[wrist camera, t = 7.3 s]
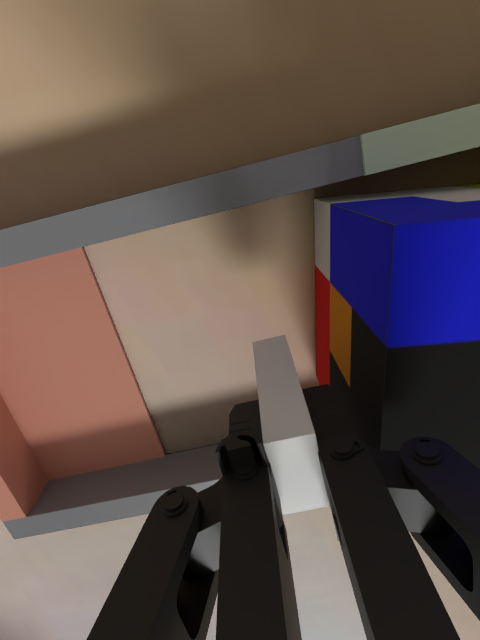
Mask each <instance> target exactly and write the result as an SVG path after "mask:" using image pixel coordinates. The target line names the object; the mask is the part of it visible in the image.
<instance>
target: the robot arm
mask: <svg viewBox="0 0 480 640" xmlns="http://www.w3.org/2000/svg"><path fill="white" fill-rule="evenodd" d="M253 349H254V359H255V369H256V379H257V388H258V398H259V400H255V401H250V402H246V403H241V404H236V405H235V406H234V408H233V409H232V411H231V413H230V416H229V425H230V426H229V436H228V437H226V438H225V439H223V440H222V441H221V442H220V444H219V445H218V446H217V448H216V451H215V454H216V457H217V460H218V463H219V466H220V469H221V472H222V475H223V476H222V478H221V479H220V480H219V481H217V482H216V483H215V484H213V485H212V486H210V487H208V488H206V489H204V490H202V491H200V492H198V493H197V491H196V490H194V489H193V488H192V487H188V486H178V487H174V488H172V489H170V490H168V491H166V492H165V493H164V494H162V495H161V496H160V497H159V498H158V500H157V501H156V502H155V504H154V505H153V507H152V509H151V511H150V513H149V515H148V517H147V519H146V521H145V523H144V525H143V527H142V529H141V531H140V533H139V535H138V537H137V539H136V541H135V543H134V545H133V547H132V549H131V551H130V553H129V555H128V557H127V560H126V562H125V564H124V566H123V568H122V570H121V572H120V574H119V576H118V578H117V580H116V582H115V584H114V586H113V588H112V590H111V592H110V594H109V596H108V598H107V600H106V602H105V604H104V606H103V608H102V610H101V612H100V614H99V616H98V618H97V620H96V622H95V624H94V626H93V628H92V630H91V632H90V634H89V636H88V638H87V640H206V636H207V632H208V628H209V624H210V620H211V616H212V612H213V608H214V604H215V601H216V597H217V593H218V602H217V626H216V640H302V638H301V631H300V624H299V617H298V610H297V603H296V596H295V589H294V582H293V575H292V568H291V561H290V554H289V547H288V540H287V533H286V529H285V525H284V522H283V517H282V513H283V515H284V514H289V513H295V512H300V511H306V510H311V509H316V508H321V507H326V506H330V507H331V510H332V515H333V519H334V524H335V529H336V533H337V538H338V541H340V545H341V548H342V552H343V556H344V559H345V563H346V566H347V570H348V573H349V577H350V580H351V584H352V588H353V591H354V595H355V598H356V602H357V605H358V609H359V612H360V616H361V620H362V623H363V627H364V630H365V634H366V637H367V640H460V638H459V636H458V634H457V632H456V630H455V628H454V625H453V623H452V621H451V619H450V617H449V615H448V613H447V611H446V609H445V607H444V605H443V603H442V601H441V598H440V596H439V594H438V592H437V590H436V588H435V586H434V584H433V582H432V580H431V578H430V576H429V573H428V571H427V569H426V567H425V565H424V563H423V561H422V559H421V557H420V555H419V553H418V551H417V548H416V546H415V544H414V542H413V540H412V538H411V536H410V534H409V532H410V533H411V534H412V536H413V537H414V539H415V540H416V541H417V542H418V544H419V545H420V546H421V548H422V549H423V550H424V551H425V553H426V554H427V555H428V556H429V558H430V559H431V560H432V561H433V563H434V564H435V565H436V566H437V568H438V569H439V570H440V571H441V573H442V574H443V575H444V576H445V578H446V579H447V580H448V581H449V583H450V584H451V585H452V586H453V588H454V589H455V590H456V591H457V593H458V594H459V595H460V596H461V598H462V599H463V600H464V601H465V603H466V604H467V605H468V607H469V608H470V609H471V610H472V612H473V613H474V614H475V615H476V617H477V618H478V619H479V620H480V469H479V468H477V467H476V466H475V465H474V464H472V463H471V462H470V461H469V460H467V459H466V458H465V457H464V456H462V455H461V454H460V453H459V452H458V451H456V450H455V449H454V448H453V447H451V446H450V445H449V444H447V443H445V442H443V441H442V440H439V439H436V438H432V437H416V438H411V439H409V440H408V441H406V442H404V443H403V444H402V446H401V448H400V451H389V450H380V449H376V448H373V447H370V446H368V445H366V444H365V443H364V441H363V440H361V439H360V438H359V437H358V435H357V433H356V431H355V429H354V427H353V425H352V423H351V420H350V418H349V416H348V414H347V412H346V410H345V408H344V405H343V403H342V401H341V399H340V397H339V395H338V392H337V390H335V389H334V388H332V387H331V386H330V385H328V384H324V385H320V386H315V387H310V388H306V389H301V385H300V382H299V379H298V376H297V372H296V369H295V366H294V362H293V359H292V356H291V353H290V349H289V346H288V343H287V340H286V336H285V335H283V336H278V337H274V338H270V339H265V340H261V341H256V342H253ZM408 531H409V532H408Z"/></svg>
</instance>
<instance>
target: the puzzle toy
mask: <svg viewBox="0 0 480 640" xmlns="http://www.w3.org/2000/svg"><path fill="white" fill-rule="evenodd" d="M314 224H315V302H316V376H317V378H318V381H319V384H320V385H324V384H328V385H330V386H331V387H332V388H334V389H335V390H337V392H338V395H339V397H340V399H341V401H342V403H343V405H344V408H345V410H346V412H347V414H348V416H349V418H350V420H351V423H352V425H353V427H354V429H355V431H356V433H357V435H358V437H359V438H360V439H361V440H363V441H364V443H365V444H366V445H368V446H370V447H373V448H376V449H380V450H389V451H400V448H401V446H402V444H403V443H404V442H406V441H408V440H409V439H411V438H416V437H432V438H436V439H439V440H442V441H443V442H445V443H447V444H449V445H450V446H451V447H453V448H454V449H455V450H456V451H458V452H459V453H460V454H461V455H462V456H464V457H465V458H466V459H467V460H469V461H470V462H471V463H472V464H474V465H475V466H476V467H477V468H479V469H480V183H479V184H468V185H457V186H446V187H435V188H424V189H413V190H402V191H391V192H380V193H369V194H358V195H347V196H336V197H325V198H314Z"/></svg>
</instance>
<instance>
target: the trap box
mask: <svg viewBox="0 0 480 640" xmlns="http://www.w3.org/2000/svg"><path fill="white" fill-rule="evenodd" d="M476 147H480V103H479V104H475V105H472V106H468V107H464V108H460V109H456V110H453V111H449V112H445V113H441V114H437V115H434V116H430V117H426V118H422V119H418V120H415V121H411V122H407V123H403V124H399V125H396V126H392V127H388V128H384V129H380V130H377V131H373V132H369V133H365V134H361V135H359V136H355V137H351V138H348V139H344V140H340V141H336V142H332V143H329V144H325V145H321V146H317V147H313V148H310V149H306V150H302V151H298V152H294V153H291V154H287V155H283V156H279V157H275V158H272V159H268V160H264V161H260V162H256V163H253V164H249V165H245V166H241V167H237V168H234V169H230V170H226V171H222V172H218V173H215V174H211V175H207V176H203V177H199V178H196V179H192V180H188V181H184V182H180V183H177V184H173V185H169V186H165V187H161V188H158V189H154V190H150V191H146V192H142V193H139V194H135V195H131V196H127V197H123V198H120V199H116V200H112V201H108V202H104V203H101V204H97V205H93V206H89V207H85V208H82V209H78V210H74V211H70V212H66V213H63V214H59V215H55V216H51V217H47V218H44V219H40V220H36V221H32V222H28V223H25V224H21V225H17V226H13V227H9V228H6V229H2V230H0V518H1V520H2V521H3V523H4V524H5V526H6V527H7V529H8V530H9V532H10V534H11V535H12V537H13V538H14V539H19V538H24V537H29V536H35V535H40V534H45V533H50V532H55V531H61V530H66V529H71V528H76V527H82V526H87V525H92V524H97V523H102V522H108V521H113V520H118V519H123V518H128V517H134V516H139V515H144V514H149V513H150V511H151V509H152V507H153V505H154V504H155V502H156V501H157V500H158V498H159V497H160V496H161V495H162V494H164V493H165V492H166V491H168V490H170V489H172V488H174V487H178V486H188V487H192V488H193V489H194V490H196V491H197V493H198V492H200V491H202V490H204V489H206V488H208V487H210V486H212V485H213V484H215V483H216V482H217V481H219V480H220V479H221V478H222V476H223V475H222V472H221V469H220V466H219V463H218V460H217V457H216V454H215V451H216V448H217V446H218V445H219V444H215V445H210V446H205V447H201V448H196V449H191V450H186V451H181V452H176V453H171V454H165V451H164V449H163V446H162V444H161V441H160V439H159V436H158V434H157V431H156V429H155V426H154V424H153V421H152V419H151V416H150V414H149V411H148V409H147V406H146V404H145V401H144V399H143V396H142V394H141V391H140V388H139V386H138V383H137V381H136V378H135V376H134V373H133V371H132V368H131V366H130V363H129V361H128V358H127V356H126V353H125V351H124V348H123V346H122V343H121V341H120V338H119V336H118V333H117V331H116V328H115V326H114V323H113V321H112V318H111V316H110V313H109V311H108V308H107V306H106V303H105V301H104V298H103V296H102V293H101V291H100V288H99V285H98V283H97V280H96V278H95V275H94V273H93V270H92V268H91V265H90V263H89V260H88V258H87V255H86V253H85V250H84V248H83V247H84V246H88V245H92V244H96V243H100V242H104V241H108V240H111V239H115V238H119V237H123V236H127V235H131V234H135V233H139V232H143V231H147V230H151V229H155V228H159V227H163V226H167V225H170V224H174V223H178V222H182V221H186V220H190V219H194V218H198V217H202V216H206V215H210V214H214V213H218V212H222V211H225V210H229V209H233V208H237V207H241V206H245V205H249V204H253V203H257V202H261V201H265V200H269V199H273V198H277V197H280V196H284V195H288V194H292V193H296V192H300V191H304V190H308V189H312V188H316V187H320V186H324V185H328V184H332V183H336V182H339V181H343V180H347V179H351V178H355V177H359V176H363V175H370V174H374V173H378V172H382V171H385V170H389V169H393V168H397V167H401V166H405V165H409V164H413V163H417V162H421V161H425V160H429V159H433V158H437V157H441V156H444V155H448V154H452V153H456V152H460V151H464V150H468V149H472V148H476Z"/></svg>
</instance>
